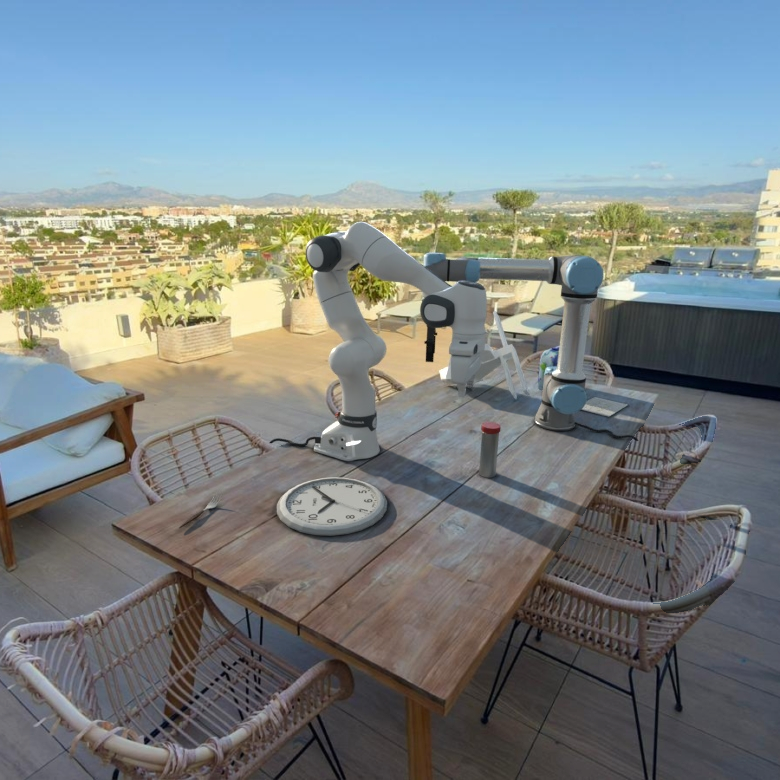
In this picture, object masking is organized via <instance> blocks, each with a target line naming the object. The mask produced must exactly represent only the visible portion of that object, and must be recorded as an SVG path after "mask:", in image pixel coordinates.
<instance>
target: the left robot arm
mask: <svg viewBox="0 0 780 780" xmlns="http://www.w3.org/2000/svg"><path fill="white" fill-rule="evenodd" d="M305 259H306V262H307V264H308V266H309V267H310V268H311V269H312V270H313V273H312V281H313V286H314V290H315V293H316V296H317V300H318V302H319V306H320V307H321V310H322V313H323V315H324V317H325V320H326V323H327V326H328V327H329V328H330V329H331V330H332V331H334V332H336V333H337V335H338V336H339V337H340V338H341V339H342V342H340V343H339V344H337V346H335V347H333V349H332V350H331V351H330V353H329V355H328V365H329V367H330V370H331V371H332V372H333V374H334V375H336V376H337V378H338V381H339V384H340V389H341V408H340V410H338V411H337V413H335V417H334V418H335V419H336V418H337V420H336V421H334V422H333V423H331V424H330V425H328V426H327V427H325V429H324V430H323V431H322V432H321V431H319V432H317V433H316V435H314V436H309V437H308V438H306V440H305V442H304V443H298V442H294V441H292V440H290V439H285V438H277V437H276V438H273V439H272V440H270V441H269V442H268V444H273V443H275V442H284V443H288V444H290V445H292V446H295V447H306V446H307V445H308V444H309V442H310V441H313V440H314V446H313V451H314V452H315V453H319V454H321V455H325V456H328V457H332V458H335V459H338V460H341V461H345V462H353V461H356V460H364V459H369V458H373V457H375V456H377V455H378V454H379V453H380V452H381V448H380V445H379V441H378V435H377V426H378V425H377V424H378V413H377V412H378V411H377V410H376V404H377V403H376V399H377V398H376V397H377V395H376V392H377V390H376V388H375V386H374V385H373V384H372V383H371V380H370V375H369V370H370V369H371V368H373V367H376V366H378V365H379V364H380V363H381V362H382V361H383V359H384V358H385V356H386V354H387V345H386V342H385V340H384V339H383V338H382V337H381V336H380V335H378V334H377V333H375V332H374V330H373V329H372V327H371V326H370V325H369V324H368V322H367V320H366V319H365V317H364V315H363V314H362V312H361V309H360V307H359V305H358V302H357V299H356V297H355V294H354V291H353V290H352V287H351V284H350V282H349V280H348V274H349V271H350V272H354V271H356V270H357V269H358V267H359V266H361V267H362V268H363V269H364V270H365V271H367V272H368V274H370V275H371V276H373V277H375V278H377V279H379V280H381V281H384V282H392V283H401V284H406V285H410V286H413V287H414V288H416V289H417V290H419V291H420V292H421V293H422V292H423V293H424V294H426V295H427V297H425V298H424V297H423V298H424V299H423V298H422V299H423V301H422V300H421V302H420V305H419V306H420V308H419V314H420V317H421V319H422V321H423V323H424V324H425V325H426V327H427V326H429V327H432V328H436V329H442V328H446V327H449V328H451V331H452V332H451V343H450V345H449V346H448V354H449V355H450V357H451V380H452V383H453V384H452V385H456V388H457V396H458V397H459V398H465V397H466V396H467V389H468V388H469V389H472V388H474V386H475V383H474V379H475V374H476V371H477V370H478V369H479V368H480V365H481V351H483V350H484V349H485V344H486V332H487V331H486V326H485V324H486V319H487V313H488V312H487V311H488V299H487V298H488V297H487V291H486V288H485V286H484V285H482V284H481V283H479V282H472V281H459V282H456V283H454V285H451V284H449V282H447V281H444V280H442V279H441V278H440V277H438V276H437V275H436V274H434V273H433V272H432V271H430V270H429V269H428V268H426V267H425V266H423V263H420V262H419V261H417V260H416V259H415V258H414V257H413V256H411V255H410V254H409V253H407V252H406V251H405V250H404V249H402V248H401V247H400V246H399V245H397V243H395V242H394V241H393V240H392V239H391V238H390V237H388V236H387V235H386V234H384V232H382V231H381V230H379V229H377V228H376V227H374V226H373V225H371V224H369V223H368V222H364V221H356V222H355V223H353V224H351V225H350V226H349V228H347V230H346V231H334V232H332V233H328V234H325V235H323V234H322V235H317V236H315V237H313V238H311V239H310V240H309V241H308V243H307V244H306V246H305Z"/></svg>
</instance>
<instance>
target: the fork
mask: <svg viewBox="0 0 780 780" xmlns="http://www.w3.org/2000/svg"><path fill="white" fill-rule="evenodd" d="M222 498H223V495H221V493H220V494H217V493H215V494H214V495H213V497H212V499H211V500H210V502H209V503H208V504H207V505H206V507H205V508H204V509H202V510H200V511H199V512H197V513H195V514H193V515H192V516H191V517H190V518H188V519H187V520H186V521H185V522H184V523H183V524H181V525H180V526H179V527H178V529H182V528H183V527H185V526H186V525H188V524H189V523H191V522H193V521H195V520H196V519H197V518H198V517H200V516H201V515H202V514H203V513H204V512H205V511H207V510H210V509H211V510H212V509H215V508H216V507H217V506H218V505H219V503H220V501H221V499H222Z"/></svg>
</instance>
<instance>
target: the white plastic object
mask: <svg viewBox="0 0 780 780" xmlns="http://www.w3.org/2000/svg"><path fill="white" fill-rule="evenodd" d="M492 315H493V319H494V321H495V324H496V325H495V326H496V328H497V332H498V335H499V338H500V342H501V345H502V347H500V348H498V349H496V350H495V349H493V348H492V347H491V346H490V344H489V343H488V342H487V343H485V349H484V350H483V351H481V365H480V368H479V369H478V370H477V371H476V374H475V379H474V384H477V383H480V382H482V381H484V378H485V377H486V376H487V375H489V374H490V373H492V372H494V371H495V370H496V369H497V368H499V367H500V366H502V370H503V373H504V376H505V380H506V383H507V386H508V390H509V393H510V394H511V395H512V397H513V398H514V399H515V400H517V392H516V391H517V390H516V388H515V385H514V381H513V378H512V375H511V371H510V369H509V365H508V361H510V360H513V363H514V366H515V369H516V372H517V376H518V380H519V382H520V385H521V389H522V391H523V393H524V395H525V396H526V397H528V396H531V395H530V390H529V388H528V387H529V386H528V384H527V381H526V378H525V375H524V371H523V369H522V368H523V367H522V366H521V362H520V359H519V355H518V352H517V349H516V347H515V346H514V345H513V343H511V344H508V341H507V337H506V334H505V331H504V328H503V325H502V321H501V318H500V315H499V314H498V312H497V311H496V310H495V311H492ZM438 372H439V376H440V381H442V383H443V384H444V385H445V386H449V385H454V384H453V383H452V380H451V356H450V357H449V362H448V366H446V367H444V368H442V369H440V370H439V371H438Z"/></svg>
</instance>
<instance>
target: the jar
mask: <svg viewBox="0 0 780 780" xmlns="http://www.w3.org/2000/svg"><path fill="white" fill-rule="evenodd" d="M499 438H500V432H499V433H497V434H488V433H484V432H483V431H482V430H481V438H480V439H481V440H480V441H481V442H480V455H479V466H478V467H479V468H478V474H479V475H480V476H481V477H483V478H487V479H490V478H494V477H496V474H497V464H498V463H497V462H498V461H497V460H498V450H499V440H500V439H499Z"/></svg>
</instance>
